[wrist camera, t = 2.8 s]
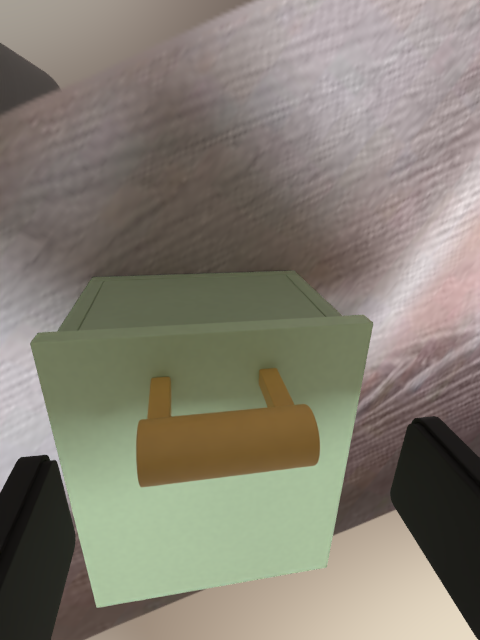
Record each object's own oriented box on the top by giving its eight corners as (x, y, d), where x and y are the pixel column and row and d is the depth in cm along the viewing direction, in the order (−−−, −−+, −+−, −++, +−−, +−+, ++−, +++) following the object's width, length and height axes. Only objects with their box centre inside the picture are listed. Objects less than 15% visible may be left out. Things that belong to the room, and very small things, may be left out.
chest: (91, 276, 21) (43, 351, 13) (294, 270, 23) (359, 331, 15) (120, 460, 26) (99, 589, 19) (279, 442, 28) (321, 552, 21)
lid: (37, 332, 12) (-39, 432, 8) (363, 314, 14) (451, 386, 10) (99, 590, 19) (76, 729, 14) (321, 553, 21) (363, 664, 16)
